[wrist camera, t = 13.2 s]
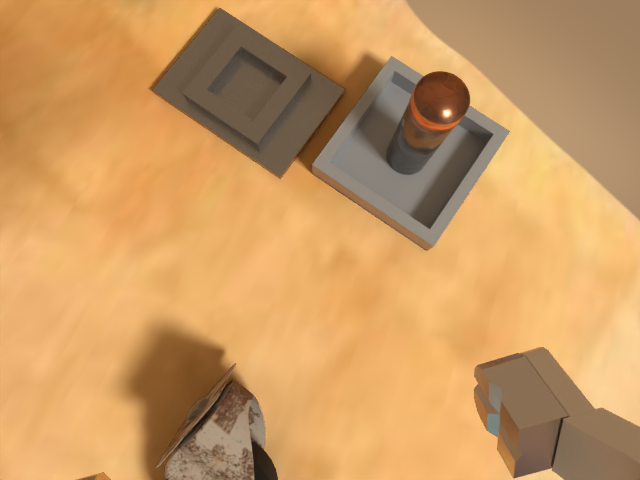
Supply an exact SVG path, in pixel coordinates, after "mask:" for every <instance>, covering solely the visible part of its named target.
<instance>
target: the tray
mask: <svg viewBox="0 0 640 480" xmlns="http://www.w3.org/2000/svg"><path fill="white" fill-rule="evenodd" d="M422 77H424V76H422V75H421V74H419V73H418V72H416V71H414V70H413V69H411V68H410V67H408V66H407V65H405V64H403V63H402V62H400V61H399V60H397V59H396V58H394V57H392V56H391V57H390V59H389V60H388V61H387V63H386V64H385V65H384V67H383V68H382V70H381V71H380V72H379V74H378V75H377V76H376V78H375V79H374V81H373V82H372V83H371V85H370V86H369V87H368V89H367V90H366V91H365V93H364V94H363V96H362V97H361V98H360V100H359V101H358V102H357V104H356V105H355V106H354V108H353V109H352V111H351V112H350V113H349V115H348V116H347V117H346V119H345V120H344V122H343V123H342V124H341V126H340V127H339V128H338V130H337V131H336V132H335V134H334V135H333V137H332V138H331V139H330V141H329V142H328V143H327V145H326V146H325V148H324V149H323V150H322V152H321V153H320V154H319V156H318V157H317V158H316V160H315V161H314V163H313V164H312V174H313V175H315V176H316V177H318V178H319V179H321V180H322V181H324V182H325V183H327V184H328V185H330V186H331V187H333V188H334V189H335V190H337V191H338V192H340V193H341V194H343V195H344V196H346V197H347V198H349V199H350V200H352V201H353V202H355V203H356V204H358V205H359V206H361V207H362V208H364V209H365V210H367V211H368V212H370V213H371V214H373V215H374V216H376V217H377V218H378V219H380V220H381V221H383V222H384V223H386V224H387V225H389V226H390V227H392V228H393V229H395V230H396V231H398V232H399V233H401V234H402V235H404V236H405V237H407V238H408V239H410V240H411V241H413V242H414V243H416V244H417V245H419V246H420V247H421V248H423V249H424V250H426V251H427V250H429V249H430V248H432V247H434V245H435V244H436V242H437V241H438V239H439V238H440V236H441V235H442V233H443V232H444V230H445V229H446V227H447V226H448V224H449V223H450V221H451V220H452V218H453V217H454V215H455V214H456V212H457V211H458V209H459V208H460V206H461V205H462V203H463V202H464V200H465V199H466V197H467V196H468V194H469V192H470V191H471V189H472V188H473V186H474V185H475V183H476V182H477V180H478V179H479V177H480V176H481V174H482V173H483V171H484V170H485V168H486V167H487V165H488V164H489V162H490V161H491V159H492V158H493V156H494V155H495V153H496V152H497V150H498V149H499V147H500V146H501V144H502V143H503V141H504V140H505V138H506V137H507V135H508V134H509V132H510V131H509V130H507V129H505V128H504V127H502V126H501V125H499V124H498V123H496V122H494V121H493V120H491V119H490V118H488V117H487V116H485V115H483V114H482V113H480V112H479V111H477V110H476V109H474V108H473V107H471V106H469V108H468V111H467V112H466V114H465V115H464V117H463V118H462V119H461V120H460V122H459V123H458V124H457V126H456V127H455V128H454V129H453V130H452V131H451V132H450V133H449V135H448V136H447V137H446V139H445V140H444V141H443V143H442V144H441V145H440V146H439V148H438V149H437V150H436V152H435V153H434V154H433V156H432V157H431V158H430V159H429V161H428V162H427V163H426V165H425V166H424V167H423V169H422V170H420V171H419V172H417V173H415V174H412V175H403V174H400V173H398V172H396V171H395V170H393V169H392V168H391V166H390V165H389V163H388V161H387V156H386V153H387V148H388V146H389V144H390V142H391V139H392V137H393V135H394V133H395V131H396V129H397V127H398V124H399V122H400V120H401V118H402V116H403V114H404V112H405V110H406V107H407V105H408V103H409V100H410V97H411V95H412V93H413V91H414V88H415V86H416V84H417V83H418V82H419V80H420V79H421V78H422Z"/></svg>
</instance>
